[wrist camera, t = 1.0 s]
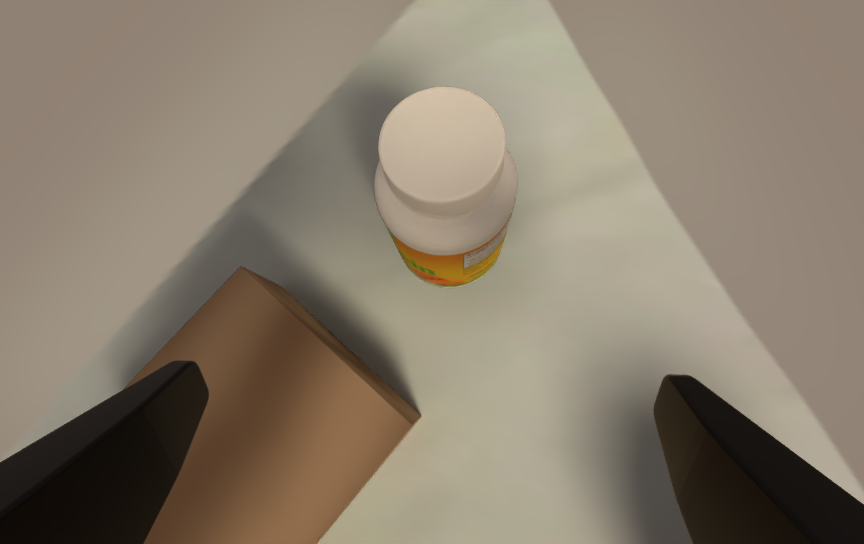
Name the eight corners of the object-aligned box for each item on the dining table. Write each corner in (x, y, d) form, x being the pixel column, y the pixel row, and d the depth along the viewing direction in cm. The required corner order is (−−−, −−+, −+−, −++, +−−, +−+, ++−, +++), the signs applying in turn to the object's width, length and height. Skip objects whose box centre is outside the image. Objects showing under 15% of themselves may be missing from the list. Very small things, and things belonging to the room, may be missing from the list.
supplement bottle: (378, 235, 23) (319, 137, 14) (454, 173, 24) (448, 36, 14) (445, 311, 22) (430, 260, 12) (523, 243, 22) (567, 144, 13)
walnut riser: (421, 416, 21) (411, 425, 17) (275, 593, 19) (227, 648, 15) (278, 285, 23) (240, 266, 19) (137, 437, 21) (65, 450, 17)
